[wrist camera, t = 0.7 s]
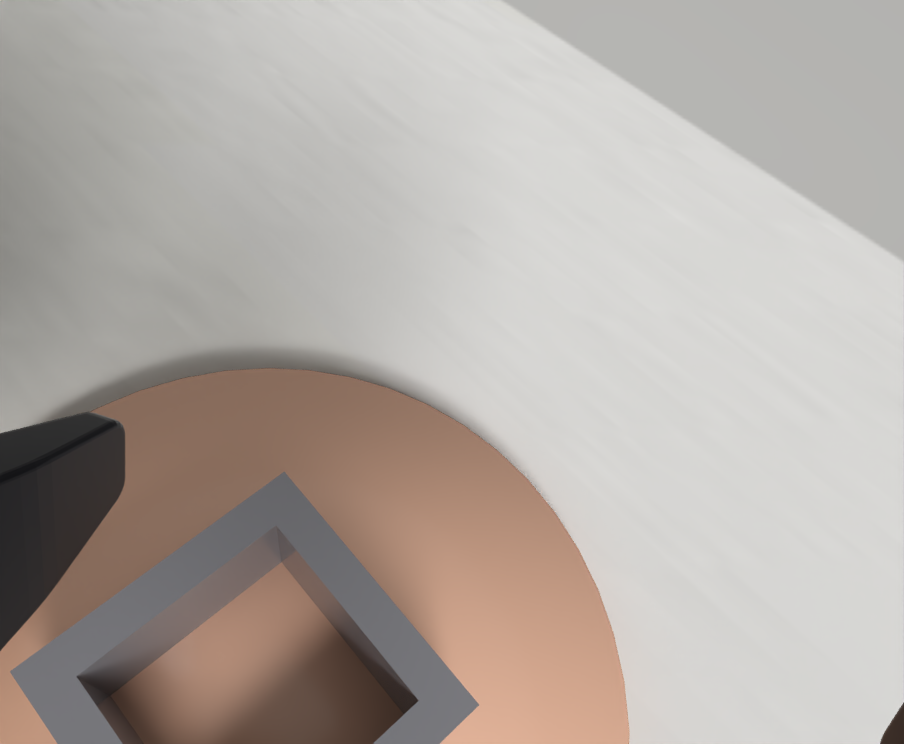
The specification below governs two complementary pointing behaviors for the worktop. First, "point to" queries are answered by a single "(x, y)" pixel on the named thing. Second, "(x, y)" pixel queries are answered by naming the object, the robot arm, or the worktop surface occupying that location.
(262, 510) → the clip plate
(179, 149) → the worktop surface
